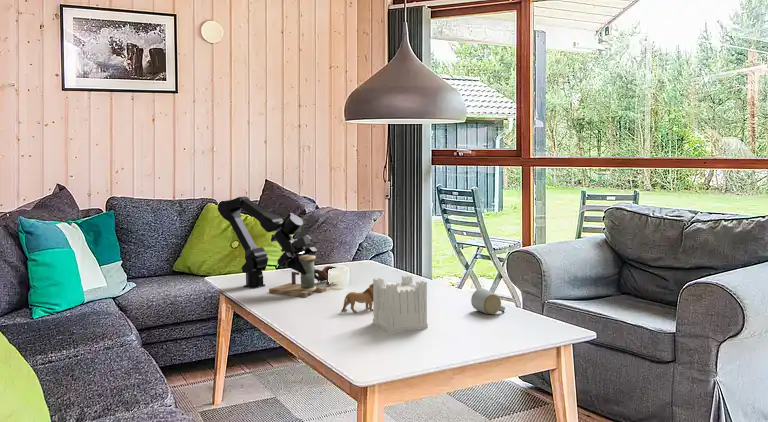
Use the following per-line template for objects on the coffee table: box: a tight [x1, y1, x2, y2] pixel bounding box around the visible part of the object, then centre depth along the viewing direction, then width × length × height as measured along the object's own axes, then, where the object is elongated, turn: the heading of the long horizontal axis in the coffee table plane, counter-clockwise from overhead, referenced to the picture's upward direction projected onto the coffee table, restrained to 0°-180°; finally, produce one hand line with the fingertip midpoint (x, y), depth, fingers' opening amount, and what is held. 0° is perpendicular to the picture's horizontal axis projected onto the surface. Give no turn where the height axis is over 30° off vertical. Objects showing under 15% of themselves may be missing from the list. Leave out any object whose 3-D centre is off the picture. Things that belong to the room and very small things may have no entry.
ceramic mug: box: [470, 288, 506, 315], centre depth 223 cm, size 11×8×8 cm
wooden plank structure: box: [268, 271, 327, 298], centre depth 258 cm, size 18×13×6 cm
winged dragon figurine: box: [314, 265, 337, 286], centre depth 273 cm, size 12×10×8 cm
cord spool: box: [299, 255, 317, 293], centre depth 254 cm, size 6×6×13 cm
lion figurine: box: [340, 283, 374, 313], centre depth 226 cm, size 15×5×9 cm, turn 117°
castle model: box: [372, 274, 429, 334], centre depth 207 cm, size 13×15×14 cm
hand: (310, 273), depth 253 cm, fingers closed on cord spool, 5 cm apart
